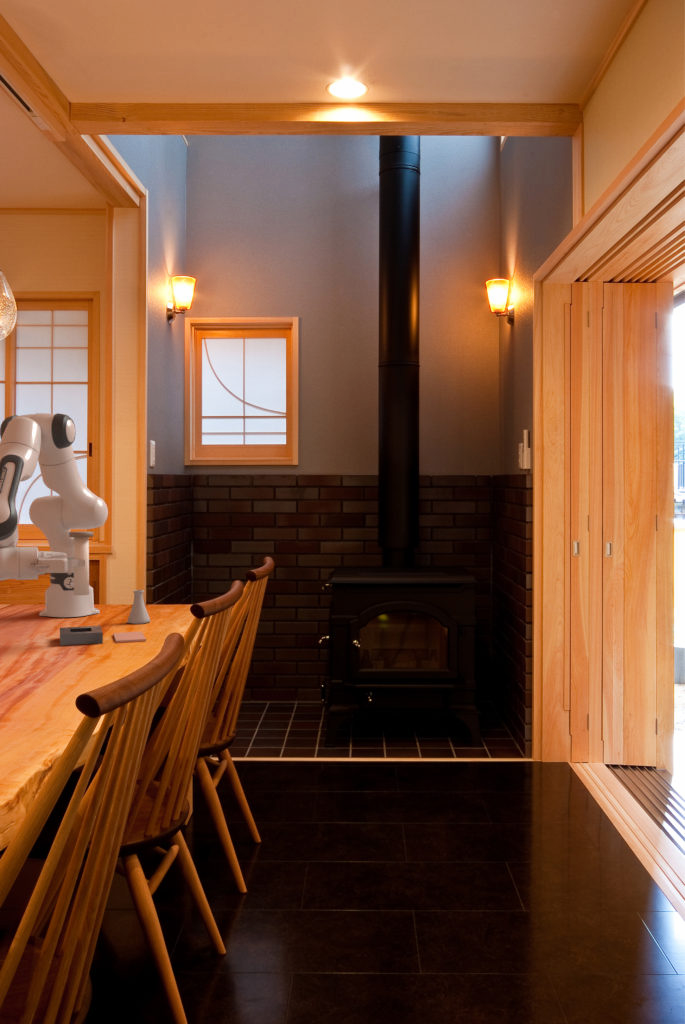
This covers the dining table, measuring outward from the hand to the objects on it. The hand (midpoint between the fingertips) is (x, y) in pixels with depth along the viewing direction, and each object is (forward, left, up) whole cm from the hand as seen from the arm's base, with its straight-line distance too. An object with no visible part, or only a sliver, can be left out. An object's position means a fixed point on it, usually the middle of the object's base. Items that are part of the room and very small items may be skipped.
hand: (84, 561), depth 239 cm
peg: (0, -1, -9) cm, 9 cm away
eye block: (0, -1, -22) cm, 22 cm away
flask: (-26, +17, -22) cm, 38 cm away
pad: (0, +12, -22) cm, 25 cm away
